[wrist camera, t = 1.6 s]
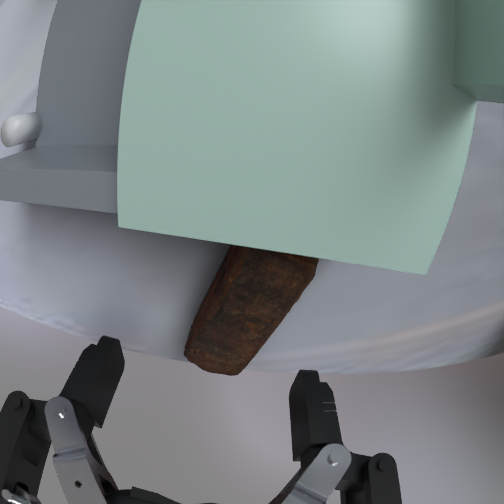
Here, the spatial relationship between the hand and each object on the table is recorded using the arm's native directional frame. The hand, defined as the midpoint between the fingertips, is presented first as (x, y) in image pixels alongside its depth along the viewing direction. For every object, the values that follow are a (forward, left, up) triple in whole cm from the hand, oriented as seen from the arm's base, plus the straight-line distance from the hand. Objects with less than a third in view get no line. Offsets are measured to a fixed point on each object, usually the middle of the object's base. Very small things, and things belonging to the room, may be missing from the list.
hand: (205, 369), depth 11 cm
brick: (-1, +1, -8) cm, 8 cm away
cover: (-2, -17, -1) cm, 17 cm away
